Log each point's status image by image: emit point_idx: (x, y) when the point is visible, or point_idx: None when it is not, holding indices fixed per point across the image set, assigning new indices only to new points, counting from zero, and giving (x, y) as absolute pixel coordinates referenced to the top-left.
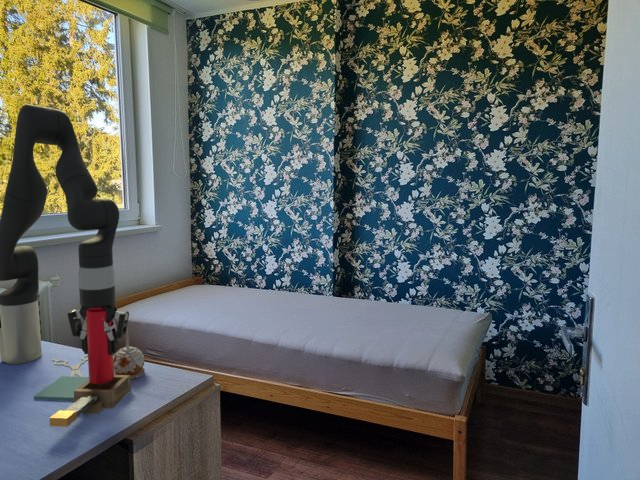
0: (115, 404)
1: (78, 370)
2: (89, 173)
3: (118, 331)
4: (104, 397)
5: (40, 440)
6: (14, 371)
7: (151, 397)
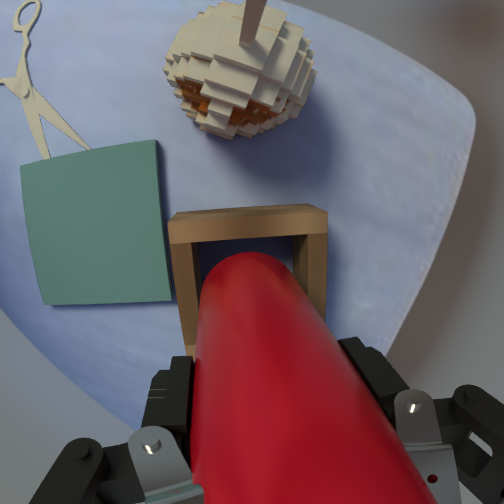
0: None
1: (37, 95)
2: None
3: (459, 467)
4: None
5: None
6: None
7: (389, 241)
